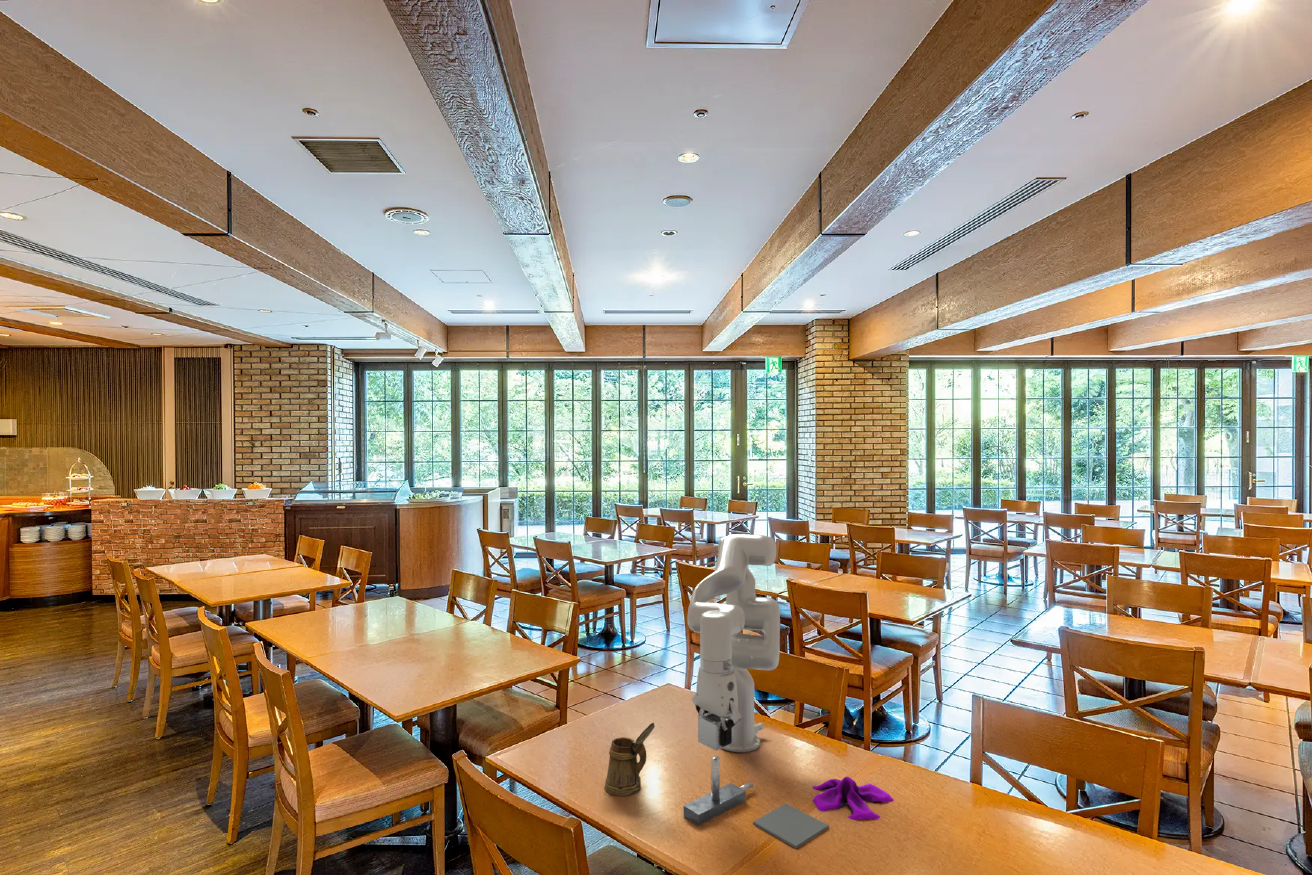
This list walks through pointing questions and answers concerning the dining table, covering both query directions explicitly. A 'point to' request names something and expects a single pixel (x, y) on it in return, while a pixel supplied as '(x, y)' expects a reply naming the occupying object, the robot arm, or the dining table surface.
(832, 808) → the cloth
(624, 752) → the wooden mug
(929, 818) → the dining table surface
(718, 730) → the steel collar
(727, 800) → the block
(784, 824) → the slate pad
